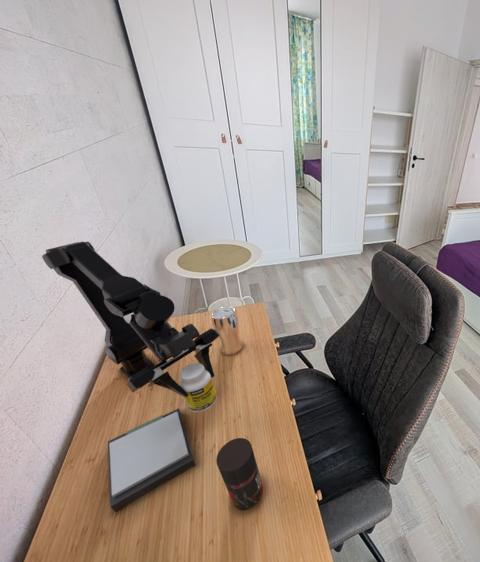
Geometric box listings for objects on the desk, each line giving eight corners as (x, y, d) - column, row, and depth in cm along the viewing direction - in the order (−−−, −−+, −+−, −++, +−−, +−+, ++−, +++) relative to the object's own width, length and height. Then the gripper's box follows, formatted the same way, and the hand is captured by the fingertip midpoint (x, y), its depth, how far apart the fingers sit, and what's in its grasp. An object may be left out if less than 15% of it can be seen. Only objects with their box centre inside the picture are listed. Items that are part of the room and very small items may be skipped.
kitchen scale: (111, 446, 65) (106, 439, 64) (181, 413, 73) (178, 406, 72) (114, 512, 55) (108, 505, 53) (195, 464, 63) (192, 457, 62)
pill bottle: (197, 418, 66) (184, 386, 60) (183, 404, 68) (170, 372, 63) (222, 399, 70) (213, 368, 65) (208, 387, 73) (198, 356, 67)
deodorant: (264, 502, 58) (252, 463, 50) (232, 515, 56) (215, 476, 48) (262, 473, 62) (251, 433, 55) (232, 484, 60) (217, 444, 53)
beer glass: (235, 338, 98) (227, 303, 91) (247, 347, 95) (239, 311, 88) (216, 349, 93) (205, 312, 86) (228, 359, 90) (217, 322, 83)
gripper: (111, 349, 52) (166, 414, 53) (206, 300, 66) (247, 353, 68) (106, 362, 59) (154, 419, 60) (193, 316, 73) (230, 363, 75)
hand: (200, 386), depth 65 cm, fingers closed on pill bottle, 6 cm apart
